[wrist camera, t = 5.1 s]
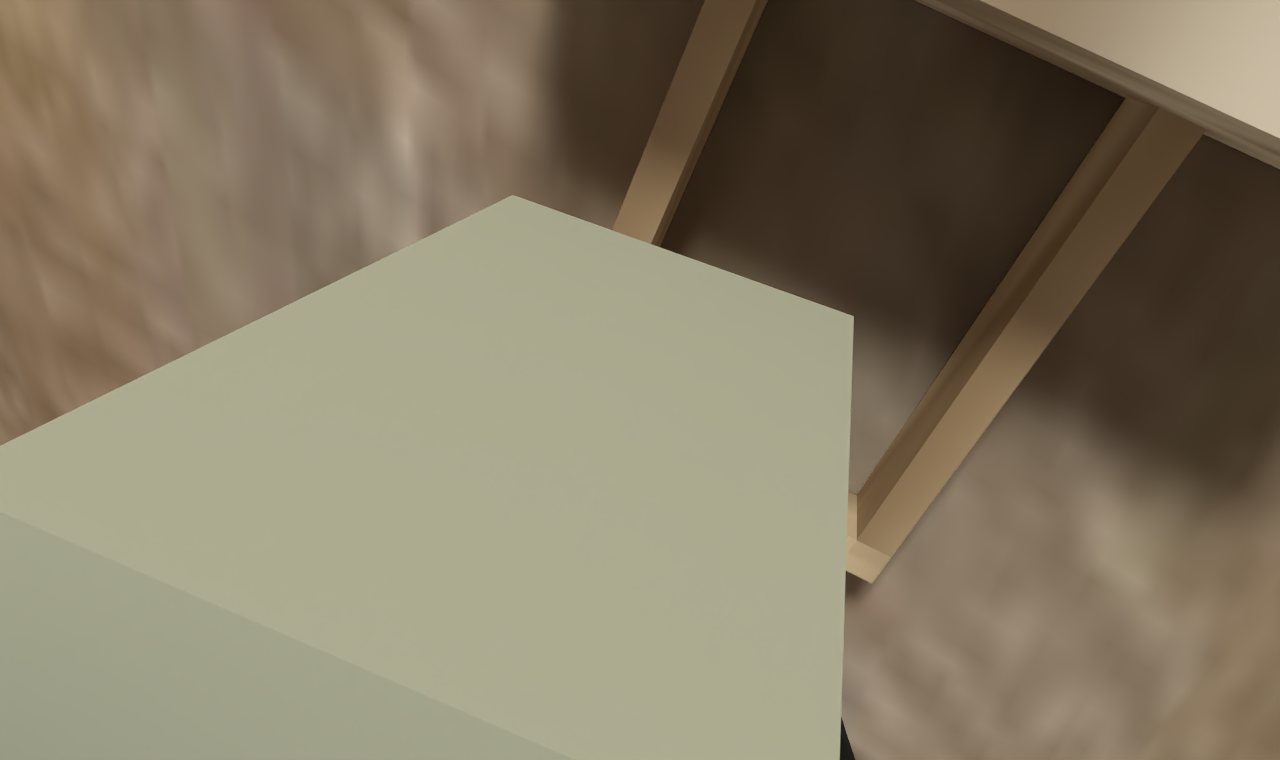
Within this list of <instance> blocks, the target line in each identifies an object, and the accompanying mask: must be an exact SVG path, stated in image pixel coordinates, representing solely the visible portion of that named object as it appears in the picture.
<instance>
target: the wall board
mask: <svg viewBox="0 0 1280 760" xmlns="http://www.w3.org/2000/svg"><path fill="white" fill-rule="evenodd" d="M915 1H917V2H919V3H921V4H923V5H926V6H928V7H930V8H932V9H934V10H936V11H938V12H941V13H943V14H945V15H947V16H949V17H951V18H954V19H956V20H958V21H960V22H962V23H964V24H967V25H969V26H971V27H973V28H975V29H977V30H980V31H982V32H984V33H986V34H988V35H990V36H993V37H995V38H997V39H999V40H1001V41H1003V42H1005V43H1008V44H1010V45H1012V46H1014V47H1016V48H1018V49H1021V50H1023V51H1025V52H1027V53H1029V54H1031V55H1034V56H1036V57H1038V58H1040V59H1042V60H1044V61H1047V62H1049V63H1051V64H1053V65H1055V66H1057V67H1059V68H1062V69H1064V70H1066V71H1068V72H1070V73H1072V74H1075V75H1077V76H1079V77H1081V78H1083V79H1085V80H1088V81H1090V82H1092V83H1094V84H1096V85H1098V86H1101V87H1103V88H1105V89H1107V90H1109V91H1111V92H1114V93H1116V94H1118V95H1120V96H1122V97H1124V98H1125V99H1124V101H1123V102H1122V104H1121V105H1120V107H1119V108H1118V110H1117V111H1116V113H1115V114H1114V116H1113V117H1112V119H1111V120H1110V122H1109V123H1108V125H1107V126H1106V128H1105V129H1104V131H1103V132H1102V133H1101V135H1100V136H1099V138H1098V139H1097V141H1096V142H1095V144H1094V145H1093V147H1092V148H1091V150H1090V151H1089V153H1088V154H1087V156H1086V157H1085V159H1084V160H1083V162H1082V163H1081V165H1080V166H1079V168H1078V169H1077V170H1076V172H1075V173H1074V175H1073V176H1072V178H1071V179H1070V181H1069V182H1068V184H1067V185H1066V187H1065V188H1064V190H1063V191H1062V193H1061V194H1060V196H1059V197H1058V199H1057V200H1056V202H1055V203H1054V205H1053V206H1052V208H1051V209H1050V210H1049V212H1048V213H1047V215H1046V216H1045V218H1044V219H1043V221H1042V222H1041V224H1040V225H1039V227H1038V228H1037V230H1036V231H1035V233H1034V234H1033V236H1032V237H1031V239H1030V240H1029V242H1028V243H1027V245H1026V246H1025V247H1024V249H1023V250H1022V252H1021V253H1020V255H1019V256H1018V258H1017V259H1016V261H1015V262H1014V264H1013V265H1012V267H1011V268H1010V270H1009V271H1008V273H1007V274H1006V276H1005V277H1004V279H1003V280H1002V282H1001V283H1000V285H999V286H998V287H997V289H996V290H995V292H994V293H993V295H992V296H991V298H990V299H989V301H988V302H987V304H986V305H985V307H984V308H983V310H982V311H981V313H980V314H979V316H978V317H977V319H976V320H975V322H974V323H973V325H972V326H971V327H970V329H969V330H968V332H967V333H966V335H965V336H964V338H963V339H962V341H961V342H960V344H959V345H958V347H957V348H956V350H955V351H954V353H953V354H952V356H951V357H950V359H949V360H948V362H947V363H946V364H945V366H944V367H943V369H942V370H941V372H940V373H939V375H938V376H937V378H936V379H935V381H934V382H933V384H932V385H931V387H930V388H929V390H928V391H927V393H926V394H925V396H924V397H923V399H922V400H921V402H920V403H919V404H918V406H917V407H916V409H915V410H914V412H913V413H912V415H911V416H910V418H909V419H908V421H907V422H906V424H905V425H904V427H903V428H902V430H901V431H900V433H899V434H898V436H897V437H896V439H895V440H894V441H893V443H892V444H891V446H890V447H889V449H888V450H887V452H886V453H885V455H884V456H883V458H882V459H881V461H880V462H879V464H878V465H877V467H876V468H875V470H874V471H873V473H872V474H871V476H870V477H869V479H868V480H867V481H866V483H865V484H864V486H863V487H862V489H861V490H860V492H859V493H858V495H857V496H856V495H854V494H852V493H850V492H848V514H847V546H846V571H848V572H850V573H852V574H854V575H856V576H858V577H860V578H862V579H864V580H866V581H868V582H870V583H873V581H874V580H875V579H876V577H877V576H878V575H879V573H880V572H881V571H882V569H883V568H884V567H885V565H886V564H887V562H888V561H889V560H890V558H891V557H892V556H893V554H894V553H895V552H896V550H897V549H898V548H899V546H900V545H901V544H902V542H903V541H904V539H905V538H906V537H907V535H908V534H909V533H910V531H911V530H912V529H913V527H914V526H915V525H916V523H917V522H918V520H919V519H920V518H921V516H922V515H923V514H924V512H925V511H926V510H927V508H928V507H929V506H930V504H931V503H932V501H933V500H934V499H935V497H936V496H937V495H938V493H939V492H940V491H941V489H942V488H943V487H944V485H945V484H946V482H947V481H948V480H949V478H950V477H951V476H952V474H953V473H954V472H955V470H956V469H957V468H958V466H959V465H960V463H961V462H962V461H963V459H964V458H965V457H966V455H967V454H968V453H969V451H970V450H971V449H972V447H973V446H974V444H975V443H976V442H977V440H978V439H979V438H980V436H981V435H982V434H983V432H984V431H985V430H986V428H987V427H988V425H989V424H990V423H991V421H992V420H993V419H994V417H995V416H996V415H997V413H998V412H999V411H1000V409H1001V408H1002V406H1003V405H1004V404H1005V402H1006V401H1007V400H1008V398H1009V397H1010V396H1011V394H1012V393H1013V392H1014V390H1015V389H1016V387H1017V386H1018V385H1019V383H1020V382H1021V381H1022V379H1023V378H1024V377H1025V375H1026V374H1027V373H1028V371H1029V370H1030V368H1031V367H1032V366H1033V364H1034V363H1035V362H1036V360H1037V359H1038V358H1039V356H1040V355H1041V354H1042V352H1043V351H1044V349H1045V348H1046V347H1047V345H1048V344H1049V343H1050V341H1051V340H1052V339H1053V337H1054V336H1055V335H1056V333H1057V332H1058V330H1059V329H1060V328H1061V326H1062V325H1063V324H1064V322H1065V321H1066V320H1067V318H1068V317H1069V316H1070V314H1071V313H1072V311H1073V310H1074V309H1075V307H1076V306H1077V305H1078V303H1079V302H1080V301H1081V299H1082V298H1083V297H1084V295H1085V294H1086V292H1087V291H1088V290H1089V288H1090V287H1091V286H1092V284H1093V283H1094V282H1095V280H1096V279H1097V278H1098V276H1099V275H1100V273H1101V272H1102V271H1103V269H1104V268H1105V267H1106V265H1107V264H1108V263H1109V261H1110V260H1111V259H1112V257H1113V256H1114V254H1115V253H1116V252H1117V250H1118V249H1119V248H1120V246H1121V245H1122V244H1123V242H1124V241H1125V240H1126V238H1127V237H1128V236H1129V234H1130V233H1131V231H1132V230H1133V229H1134V227H1135V226H1136V225H1137V223H1138V222H1139V221H1140V219H1141V218H1142V217H1143V215H1144V214H1145V212H1146V211H1147V210H1148V208H1149V207H1150V206H1151V204H1152V203H1153V202H1154V200H1155V199H1156V198H1157V196H1158V195H1159V193H1160V192H1161V191H1162V189H1163V188H1164V187H1165V185H1166V184H1167V183H1168V181H1169V180H1170V179H1171V177H1172V176H1173V174H1174V173H1175V172H1176V170H1177V169H1178V168H1179V166H1180V165H1181V164H1182V162H1183V161H1184V160H1185V158H1186V157H1187V155H1188V154H1189V153H1190V151H1191V150H1192V149H1193V147H1194V146H1195V145H1196V143H1197V142H1198V141H1199V139H1200V138H1201V136H1202V135H1203V134H1204V135H1206V136H1209V137H1211V138H1213V139H1215V140H1217V141H1219V142H1222V143H1224V144H1226V145H1228V146H1230V147H1232V148H1235V149H1237V150H1239V151H1241V152H1243V153H1245V154H1248V155H1250V156H1252V157H1254V158H1256V159H1258V160H1260V161H1263V162H1265V163H1267V164H1269V165H1271V166H1273V167H1276V168H1278V169H1280V0H915ZM767 2H768V0H705V1H704V3H703V6H702V8H701V11H700V13H699V16H698V18H697V21H696V23H695V26H694V28H693V31H692V33H691V36H690V38H689V40H688V43H687V45H686V48H685V50H684V53H683V55H682V58H681V60H680V63H679V65H678V68H677V70H676V73H675V75H674V78H673V80H672V83H671V85H670V88H669V90H668V93H667V95H666V98H665V100H664V102H663V105H662V107H661V110H660V112H659V115H658V117H657V120H656V122H655V125H654V127H653V130H652V132H651V135H650V137H649V140H648V142H647V145H646V147H645V150H644V152H643V155H642V157H641V160H640V162H639V164H638V167H637V169H636V172H635V174H634V177H633V179H632V182H631V184H630V187H629V189H628V192H627V194H626V197H625V199H624V202H623V204H622V207H621V209H620V212H619V214H618V217H617V219H616V222H615V224H614V226H613V229H612V230H613V231H615V232H618V233H621V234H624V235H627V236H629V237H632V238H635V239H638V240H641V241H644V242H646V243H649V244H652V245H655V246H658V247H660V246H661V243H662V241H663V239H664V237H665V234H666V232H667V230H668V227H669V225H670V223H671V221H672V218H673V216H674V214H675V211H676V209H677V207H678V205H679V202H680V200H681V198H682V195H683V193H684V191H685V189H686V186H687V184H688V182H689V180H690V177H691V175H692V173H693V170H694V168H695V166H696V164H697V161H698V159H699V157H700V154H701V152H702V150H703V148H704V145H705V143H706V141H707V138H708V136H709V134H710V132H711V129H712V127H713V125H714V123H715V120H716V118H717V116H718V113H719V111H720V109H721V107H722V104H723V102H724V100H725V97H726V95H727V93H728V91H729V88H730V86H731V84H732V82H733V79H734V77H735V75H736V72H737V70H738V68H739V66H740V63H741V61H742V59H743V56H744V54H745V52H746V50H747V47H748V45H749V43H750V40H751V38H752V36H753V34H754V31H755V29H756V27H757V25H758V22H759V20H760V18H761V15H762V13H763V11H764V9H765V6H766V4H767Z"/></svg>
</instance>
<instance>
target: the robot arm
mask: <svg viewBox="0 0 1280 760" xmlns="http://www.w3.org/2000/svg"><path fill="white" fill-rule="evenodd" d="M840 760H855V758H854V755H853V752H852V749H851V746H850V743H849V740H848V737H847V734H846V730H845V727H844V724H843V721H842V717H841V734H840Z"/></svg>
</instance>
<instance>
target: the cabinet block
mask: <svg viewBox="0 0 1280 760" xmlns="http://www.w3.org/2000/svg"><path fill="white" fill-rule="evenodd" d="M853 326H854V316H852V315H849V314H846V313H843V312H840V311H838V310H835V309H832V308H829V307H826V306H823V305H821V304H818V303H815V302H812V301H809V300H807V299H804V298H801V297H798V296H795V295H793V294H790V293H787V292H784V291H781V290H778V289H776V288H773V287H770V286H767V285H764V284H762V283H759V282H756V281H753V280H750V279H748V278H745V277H742V276H739V275H736V274H733V273H731V272H728V271H725V270H722V269H719V268H717V267H714V266H711V265H708V264H705V263H703V262H700V261H697V260H694V259H691V258H688V257H686V256H683V255H680V254H677V253H674V252H672V251H669V250H666V249H663V248H660V247H658V246H655V245H652V244H649V243H646V242H644V241H641V240H638V239H635V238H632V237H629V236H627V235H624V234H621V233H618V232H615V231H613V230H610V229H607V228H604V227H601V226H599V225H596V224H593V223H590V222H587V221H584V220H582V219H579V218H576V217H573V216H570V215H568V214H565V213H562V212H559V211H556V210H554V209H551V208H548V207H545V206H542V205H539V204H537V203H534V202H531V201H528V200H525V199H523V198H520V197H517V196H514V195H512V196H510V197H508V198H506V199H504V200H502V201H499V202H497V203H495V204H493V205H491V206H489V207H487V208H485V209H483V210H481V211H479V212H477V213H475V214H473V215H471V216H469V217H467V218H465V219H463V220H461V221H459V222H457V223H455V224H453V225H450V226H448V227H446V228H444V229H442V230H440V231H438V232H436V233H434V234H432V235H430V236H428V237H426V238H424V239H422V240H420V241H418V242H416V243H414V244H412V245H410V246H408V247H406V248H403V249H401V250H399V251H397V252H395V253H393V254H391V255H389V256H387V257H385V258H383V259H381V260H379V261H377V262H375V263H373V264H371V265H369V266H367V267H365V268H363V269H361V270H359V271H356V272H354V273H352V274H350V275H348V276H346V277H344V278H342V279H340V280H338V281H336V282H334V283H332V284H330V285H328V286H326V287H324V288H322V289H320V290H318V291H316V292H314V293H312V294H310V295H307V296H305V297H303V298H301V299H299V300H297V301H295V302H293V303H291V304H289V305H287V306H285V307H283V308H281V309H279V310H277V311H275V312H273V313H271V314H269V315H267V316H265V317H263V318H260V319H258V320H256V321H254V322H252V323H250V324H248V325H246V326H244V327H242V328H240V329H238V330H236V331H234V332H232V333H230V334H228V335H226V336H224V337H222V338H220V339H218V340H216V341H213V342H211V343H209V344H207V345H205V346H203V347H201V348H199V349H197V350H195V351H193V352H191V353H189V354H187V355H185V356H183V357H181V358H179V359H177V360H175V361H173V362H171V363H169V364H167V365H164V366H162V367H160V368H158V369H156V370H154V371H152V372H150V373H148V374H146V375H144V376H142V377H140V378H138V379H136V380H134V381H132V382H130V383H128V384H126V385H124V386H122V387H120V388H117V389H115V390H113V391H111V392H109V393H107V394H105V395H103V396H101V397H99V398H97V399H95V400H93V401H91V402H89V403H87V404H85V405H83V406H81V407H79V408H77V409H75V410H73V411H71V412H68V413H66V414H64V415H62V416H60V417H58V418H56V419H54V420H52V421H50V422H48V423H46V424H44V425H42V426H40V427H38V428H36V429H34V430H32V431H30V432H28V433H26V434H24V435H21V436H19V437H17V438H15V439H13V440H11V441H9V442H7V443H5V444H3V445H1V446H0V760H840V734H841V703H842V671H843V640H844V608H845V577H846V546H847V514H848V483H849V451H850V420H851V389H852V357H853Z"/></svg>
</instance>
